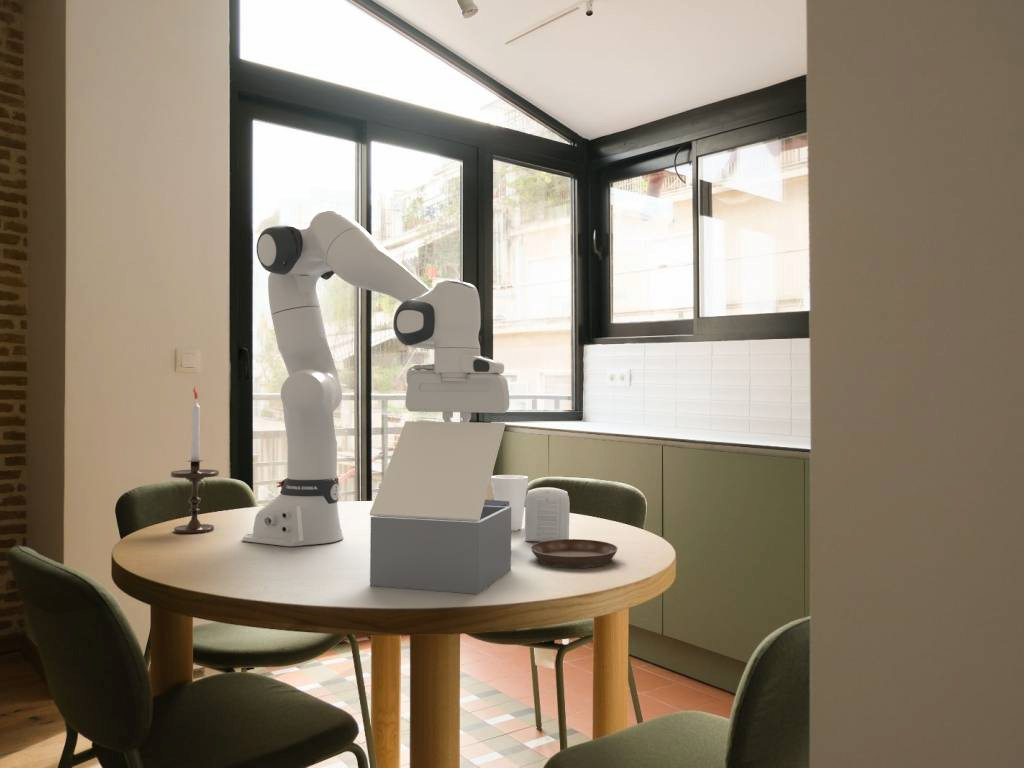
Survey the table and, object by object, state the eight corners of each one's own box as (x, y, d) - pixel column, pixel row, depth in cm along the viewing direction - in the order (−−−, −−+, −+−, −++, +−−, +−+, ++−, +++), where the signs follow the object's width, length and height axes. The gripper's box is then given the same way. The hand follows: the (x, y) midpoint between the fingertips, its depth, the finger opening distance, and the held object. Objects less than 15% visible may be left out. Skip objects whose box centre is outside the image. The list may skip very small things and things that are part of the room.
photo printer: (569, 540, 184) (569, 486, 184) (569, 543, 180) (569, 488, 180) (525, 539, 185) (525, 486, 185) (524, 542, 180) (524, 488, 181)
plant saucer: (554, 574, 150) (554, 557, 150) (516, 556, 166) (516, 542, 166) (634, 566, 157) (634, 551, 157) (590, 550, 173) (590, 536, 173)
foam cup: (527, 531, 194) (528, 478, 195) (490, 531, 194) (490, 478, 195) (527, 525, 204) (527, 475, 204) (491, 525, 204) (491, 474, 204)
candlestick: (161, 531, 192) (163, 386, 192) (204, 525, 200) (205, 387, 201) (183, 536, 185) (185, 386, 185) (226, 530, 193) (228, 387, 194)
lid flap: (370, 515, 139) (369, 513, 138) (406, 423, 154) (405, 421, 153) (479, 521, 133) (478, 519, 133) (505, 425, 148) (504, 422, 148)
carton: (370, 585, 138) (370, 517, 139) (414, 562, 158) (414, 502, 158) (478, 594, 133) (479, 522, 133) (510, 569, 152) (511, 506, 152)
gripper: (400, 363, 152) (399, 435, 151) (503, 363, 146) (502, 438, 146) (413, 364, 158) (412, 434, 158) (512, 364, 152) (511, 436, 152)
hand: (456, 436), depth 152 cm, fingers closed, pressing on lid flap
